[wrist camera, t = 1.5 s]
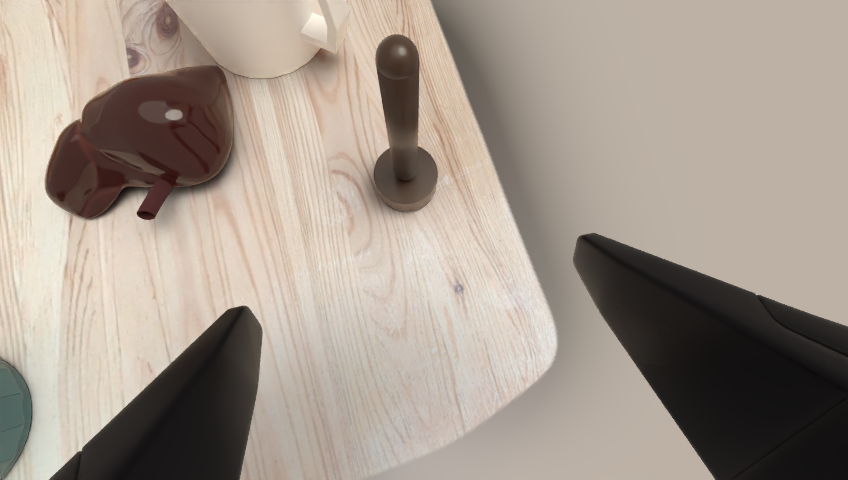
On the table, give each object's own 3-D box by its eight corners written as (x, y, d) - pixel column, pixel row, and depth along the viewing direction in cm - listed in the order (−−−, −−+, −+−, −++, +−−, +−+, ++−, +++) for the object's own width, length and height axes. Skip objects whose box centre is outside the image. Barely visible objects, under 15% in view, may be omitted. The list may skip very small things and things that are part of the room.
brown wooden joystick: (447, 188, 23) (486, 52, 11) (401, 223, 23) (385, 124, 10) (410, 145, 24) (405, -31, 11) (365, 179, 23) (304, 32, 11)
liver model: (263, 124, 27) (221, 200, 19) (141, 163, 28) (57, 249, 20) (208, 40, 22) (124, 97, 15) (64, 90, 23) (-80, 167, 16)
